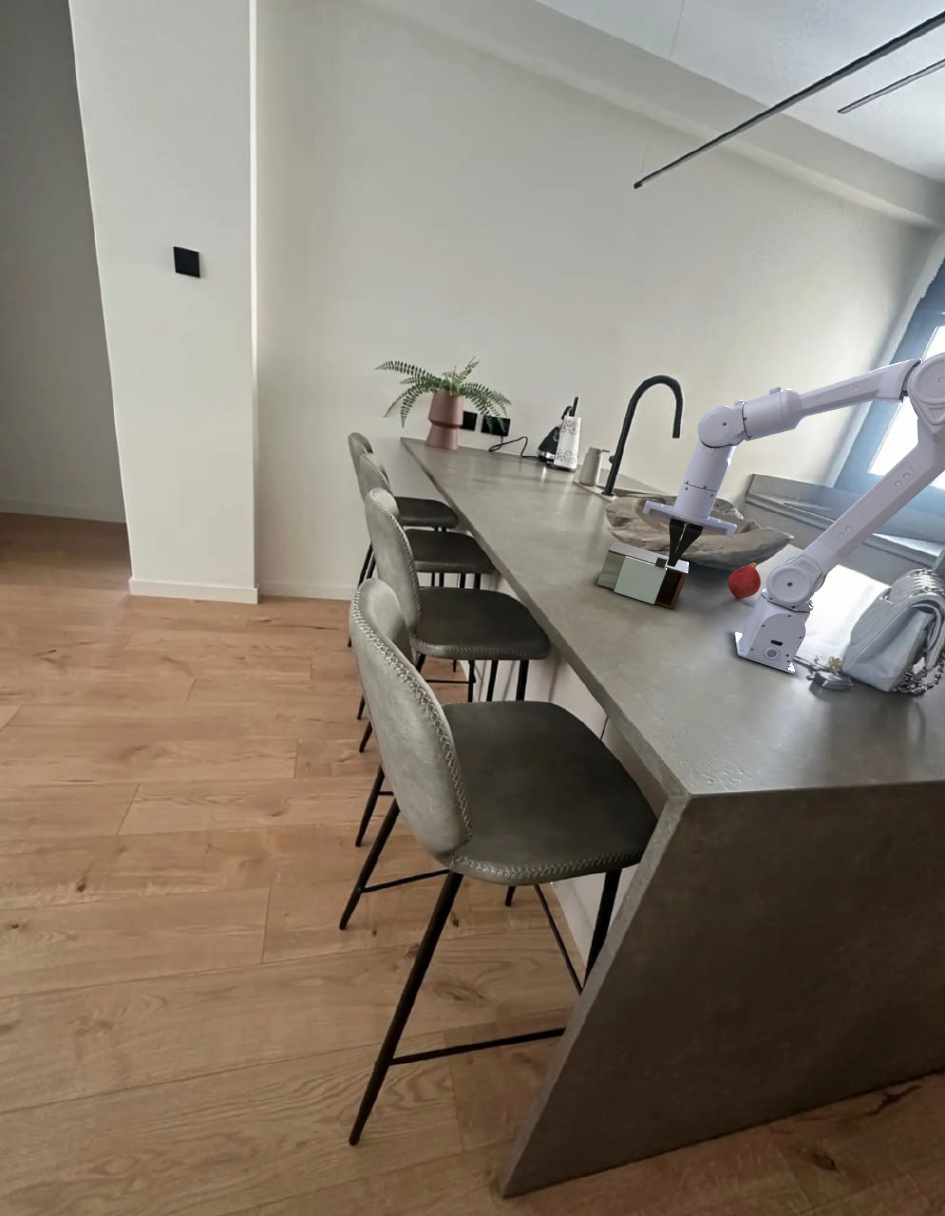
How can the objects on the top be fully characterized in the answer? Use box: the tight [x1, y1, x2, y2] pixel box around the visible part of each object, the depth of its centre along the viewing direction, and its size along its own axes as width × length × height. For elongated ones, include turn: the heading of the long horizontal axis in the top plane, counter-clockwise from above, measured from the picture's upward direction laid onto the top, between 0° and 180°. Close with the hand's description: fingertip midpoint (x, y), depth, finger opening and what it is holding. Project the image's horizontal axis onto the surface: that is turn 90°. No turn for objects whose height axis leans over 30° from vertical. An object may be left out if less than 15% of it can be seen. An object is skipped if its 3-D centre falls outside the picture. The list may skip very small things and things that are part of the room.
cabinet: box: [596, 540, 689, 610], centre depth 97 cm, size 8×14×7 cm, turn 68°
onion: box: [727, 562, 762, 601], centre depth 105 cm, size 6×6×8 cm
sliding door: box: [613, 556, 667, 605], centre depth 92 cm, size 1×7×8 cm, turn 67°
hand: (670, 564), depth 90 cm, fingers closed
